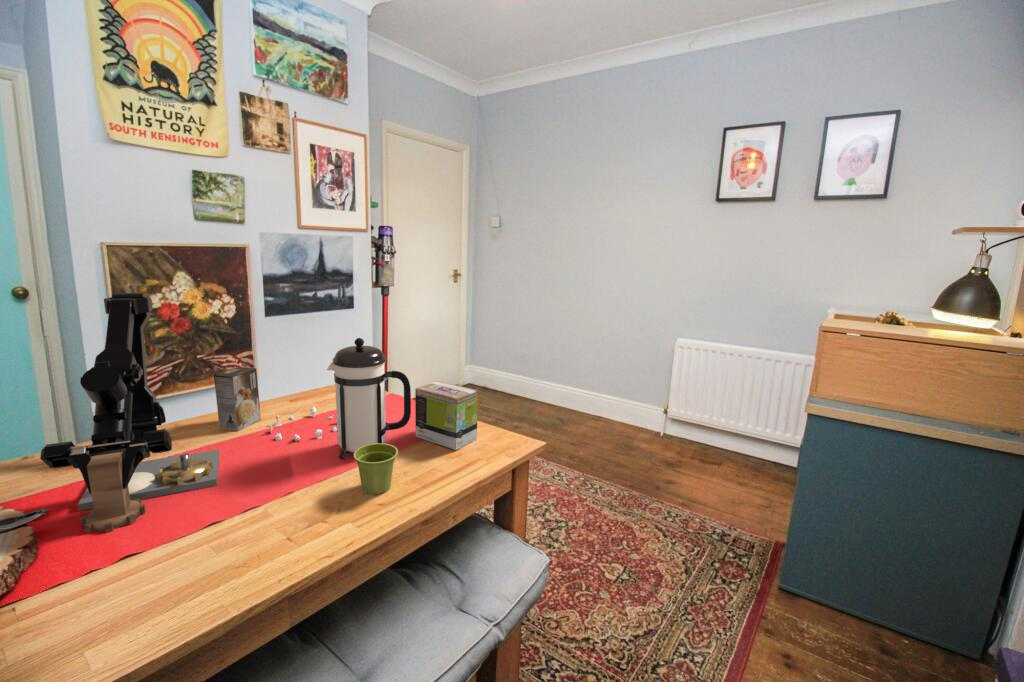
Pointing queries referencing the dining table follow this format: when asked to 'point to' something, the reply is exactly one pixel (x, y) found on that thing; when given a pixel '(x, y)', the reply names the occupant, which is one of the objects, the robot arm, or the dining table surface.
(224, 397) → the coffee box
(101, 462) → the walnut gear
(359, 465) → the plant pot
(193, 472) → the brass gear
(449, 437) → the tea box
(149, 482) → the gear board
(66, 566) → the dining table surface
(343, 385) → the coffee press
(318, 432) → the game piece set
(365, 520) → the dining table surface
